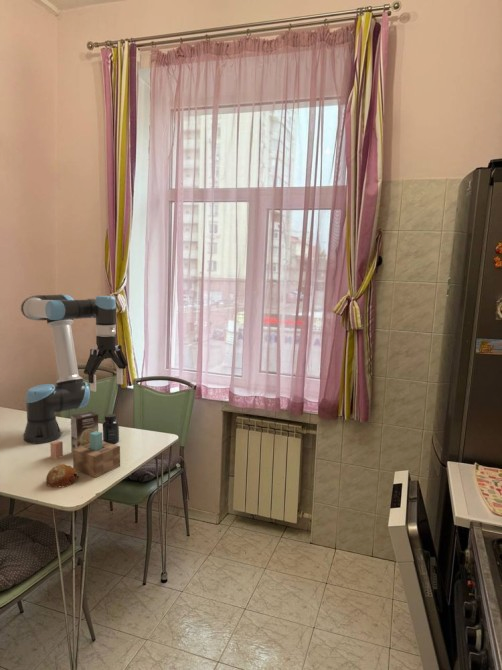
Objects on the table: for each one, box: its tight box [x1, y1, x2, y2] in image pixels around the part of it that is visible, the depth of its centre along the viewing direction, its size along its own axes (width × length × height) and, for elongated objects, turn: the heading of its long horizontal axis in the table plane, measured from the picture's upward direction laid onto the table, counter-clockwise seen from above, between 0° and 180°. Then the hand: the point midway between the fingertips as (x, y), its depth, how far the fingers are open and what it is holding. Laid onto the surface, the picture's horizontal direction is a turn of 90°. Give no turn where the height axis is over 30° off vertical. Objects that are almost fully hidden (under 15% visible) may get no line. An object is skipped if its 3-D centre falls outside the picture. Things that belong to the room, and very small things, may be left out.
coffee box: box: [70, 410, 99, 454], centre depth 186 cm, size 9×6×16 cm
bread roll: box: [45, 463, 80, 488], centre depth 161 cm, size 10×10×8 cm
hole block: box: [72, 440, 121, 479], centre depth 172 cm, size 12×12×8 cm
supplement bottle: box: [102, 413, 120, 445], centre depth 198 cm, size 7×7×12 cm
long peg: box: [90, 430, 103, 451], centre depth 171 cm, size 3×3×14 cm
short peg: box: [49, 439, 64, 460], centre depth 182 cm, size 3×3×6 cm
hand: (106, 387), depth 182 cm, fingers open, 13 cm apart
